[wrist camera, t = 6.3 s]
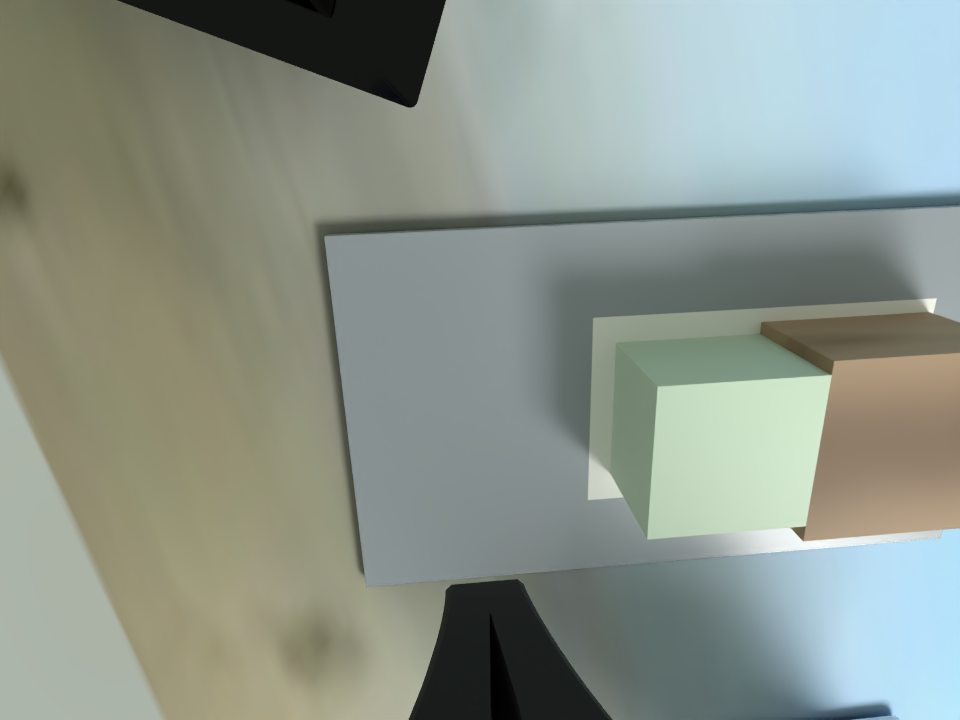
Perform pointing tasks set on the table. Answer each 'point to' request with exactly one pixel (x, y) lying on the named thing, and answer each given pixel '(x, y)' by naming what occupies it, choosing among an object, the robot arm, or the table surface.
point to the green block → (716, 434)
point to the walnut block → (882, 422)
